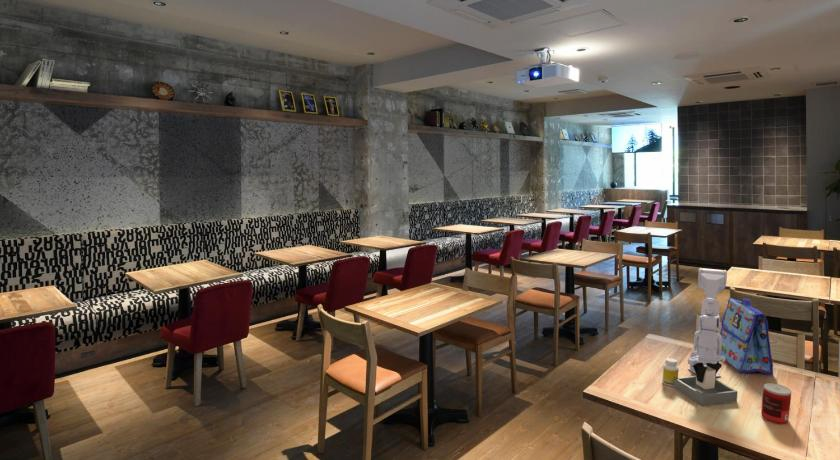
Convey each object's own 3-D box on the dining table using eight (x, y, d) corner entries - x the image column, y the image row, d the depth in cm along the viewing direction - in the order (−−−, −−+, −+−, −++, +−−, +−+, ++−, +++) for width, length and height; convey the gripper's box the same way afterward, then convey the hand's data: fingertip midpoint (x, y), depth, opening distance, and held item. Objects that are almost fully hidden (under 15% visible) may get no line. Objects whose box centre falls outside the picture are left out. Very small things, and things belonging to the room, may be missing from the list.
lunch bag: (715, 353, 221) (719, 292, 217) (747, 354, 219) (752, 292, 215) (739, 374, 200) (744, 306, 196) (775, 375, 198) (781, 307, 194)
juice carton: (695, 383, 184) (697, 364, 183) (704, 382, 185) (706, 363, 184) (705, 389, 180) (706, 369, 179) (714, 388, 181) (715, 368, 180)
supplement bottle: (679, 387, 189) (680, 363, 188) (664, 386, 190) (665, 362, 189) (675, 380, 195) (676, 357, 193) (660, 379, 196) (661, 356, 194)
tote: (673, 387, 189) (674, 378, 188) (705, 383, 192) (706, 374, 191) (702, 406, 175) (703, 395, 174) (736, 401, 177) (737, 391, 177)
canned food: (783, 414, 168) (786, 384, 167) (792, 426, 161) (795, 395, 159) (757, 411, 171) (760, 381, 169) (765, 422, 163) (768, 392, 162)
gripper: (698, 352, 175) (696, 387, 177) (733, 348, 178) (730, 383, 180) (684, 345, 182) (682, 379, 184) (717, 341, 185) (715, 375, 187)
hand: (705, 381), depth 182 cm, fingers closed on juice carton, 4 cm apart
